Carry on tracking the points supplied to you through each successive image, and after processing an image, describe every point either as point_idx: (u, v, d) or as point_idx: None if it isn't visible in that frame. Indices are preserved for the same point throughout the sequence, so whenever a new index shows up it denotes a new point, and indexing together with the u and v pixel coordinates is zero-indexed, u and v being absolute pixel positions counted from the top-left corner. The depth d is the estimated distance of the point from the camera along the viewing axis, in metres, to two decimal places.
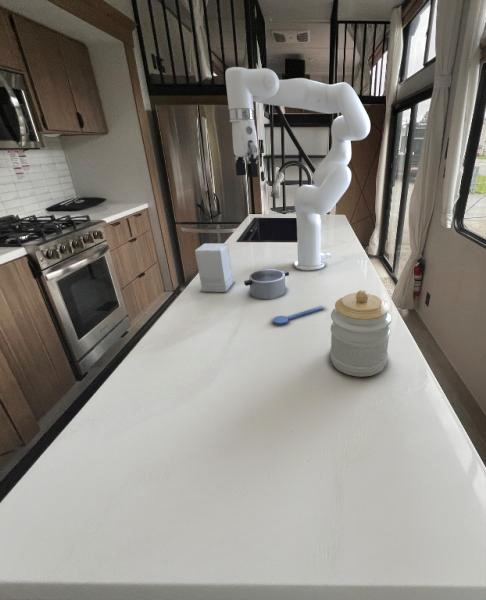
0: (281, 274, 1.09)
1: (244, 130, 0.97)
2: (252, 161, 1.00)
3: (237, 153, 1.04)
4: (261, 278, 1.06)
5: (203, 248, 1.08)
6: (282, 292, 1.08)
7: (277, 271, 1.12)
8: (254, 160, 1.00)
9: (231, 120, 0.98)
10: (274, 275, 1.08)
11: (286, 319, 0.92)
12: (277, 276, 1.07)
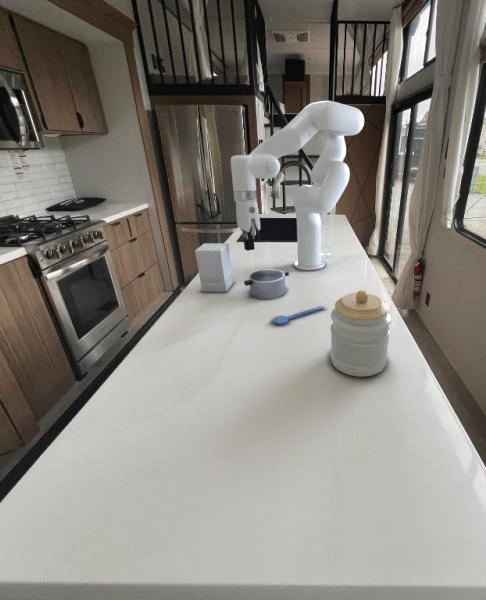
0: (281, 274, 1.09)
1: (247, 209, 1.05)
2: (249, 238, 1.11)
3: (240, 226, 1.11)
4: (261, 278, 1.06)
5: (203, 248, 1.08)
6: (282, 292, 1.08)
7: (277, 271, 1.12)
8: (251, 237, 1.11)
9: (235, 200, 1.05)
10: (274, 275, 1.08)
11: (286, 319, 0.92)
12: (277, 276, 1.07)
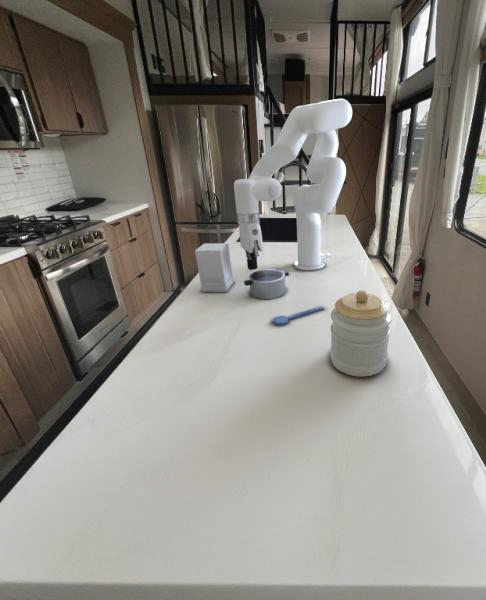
0: (281, 274, 1.09)
1: (250, 232, 1.07)
2: (252, 258, 1.14)
3: (243, 247, 1.14)
4: (261, 278, 1.06)
5: (203, 248, 1.08)
6: (282, 292, 1.08)
7: (277, 271, 1.12)
8: (254, 257, 1.14)
9: (239, 222, 1.08)
10: (274, 275, 1.08)
11: (286, 319, 0.92)
12: (277, 276, 1.07)
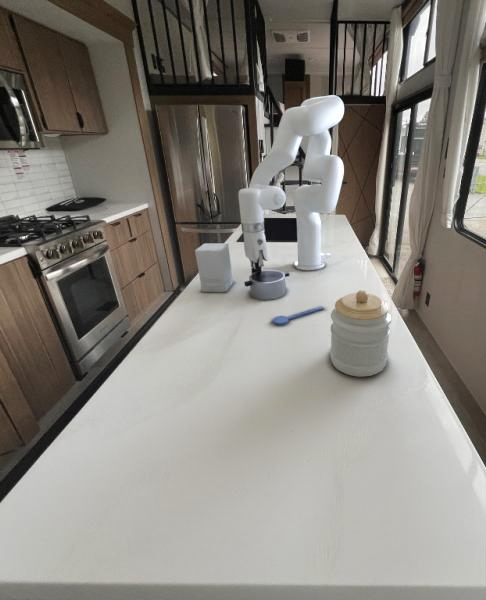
0: (281, 274, 1.09)
1: (255, 241, 1.06)
2: (257, 268, 1.12)
3: (248, 256, 1.12)
4: (261, 279, 1.05)
5: (203, 248, 1.08)
6: (283, 293, 1.08)
7: (277, 272, 1.11)
8: (259, 267, 1.12)
9: (243, 232, 1.06)
10: (274, 276, 1.08)
11: (286, 319, 0.92)
12: (277, 277, 1.07)
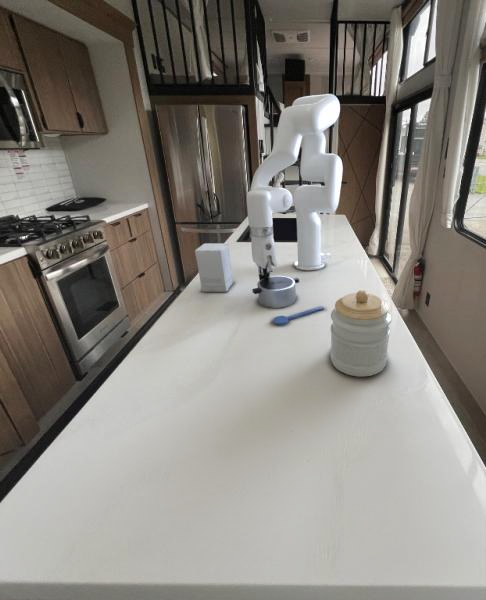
0: (291, 281, 1.03)
1: (263, 246, 1.00)
2: (265, 273, 1.07)
3: (256, 262, 1.07)
4: (270, 286, 1.00)
5: (203, 248, 1.08)
6: (293, 300, 1.02)
7: (287, 278, 1.06)
8: (267, 273, 1.07)
9: (251, 236, 1.01)
10: (284, 283, 1.02)
11: (286, 319, 0.92)
12: (287, 284, 1.01)
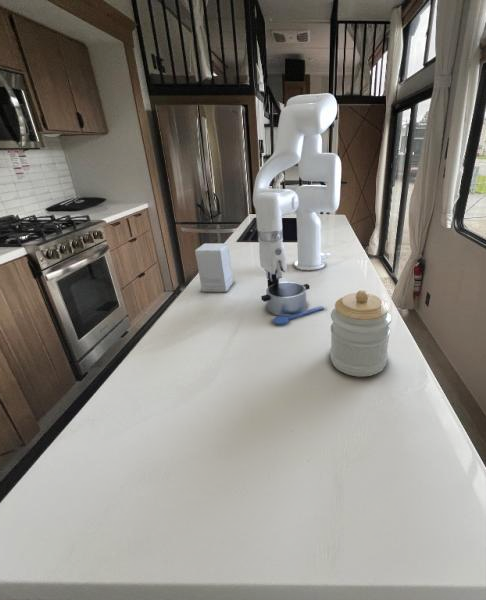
0: (301, 287, 0.99)
1: (273, 251, 0.96)
2: (274, 279, 1.02)
3: (264, 267, 1.02)
4: (280, 293, 0.95)
5: (203, 248, 1.08)
6: (303, 308, 0.98)
7: (297, 284, 1.01)
8: (276, 278, 1.02)
9: (260, 241, 0.96)
10: (294, 289, 0.98)
11: (286, 319, 0.92)
12: (298, 290, 0.96)
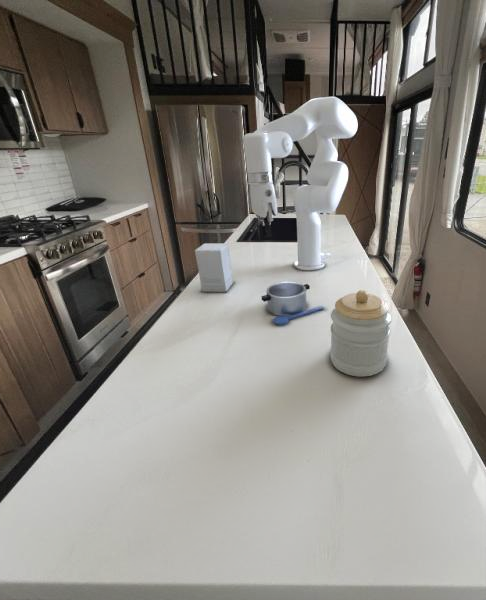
0: (302, 287, 0.99)
1: (263, 193, 0.97)
2: (266, 224, 1.04)
3: (256, 212, 1.04)
4: (280, 293, 0.95)
5: (203, 248, 1.08)
6: (304, 308, 0.98)
7: (297, 284, 1.01)
8: (268, 223, 1.03)
9: (250, 183, 0.97)
10: (294, 289, 0.98)
11: (286, 319, 0.92)
12: (298, 291, 0.96)
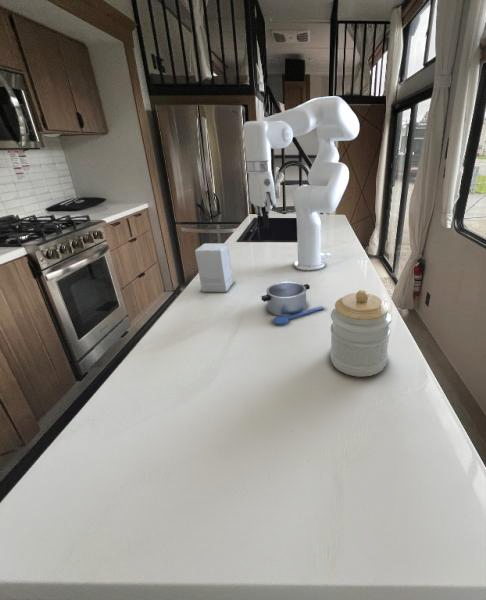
0: (302, 287, 0.99)
1: (262, 182, 0.96)
2: (264, 214, 1.02)
3: (254, 202, 1.02)
4: (280, 293, 0.95)
5: (203, 248, 1.08)
6: (304, 308, 0.98)
7: (297, 284, 1.01)
8: (266, 213, 1.02)
9: (249, 172, 0.96)
10: (294, 289, 0.98)
11: (286, 319, 0.92)
12: (298, 291, 0.96)
